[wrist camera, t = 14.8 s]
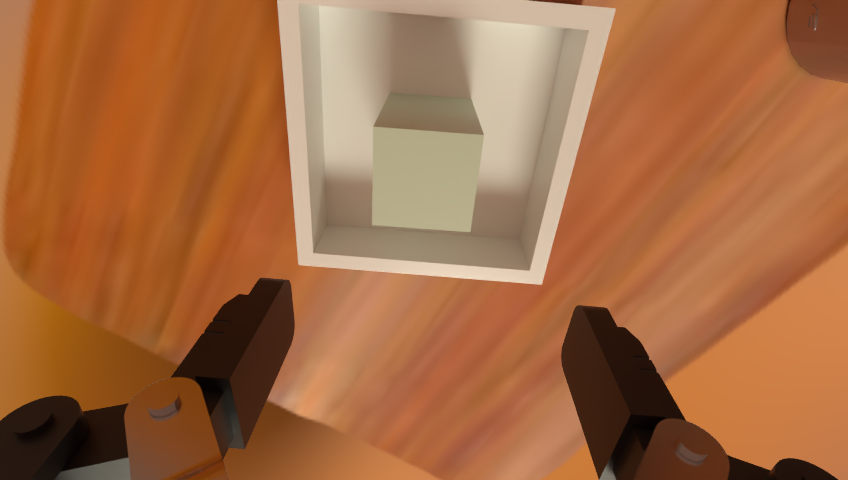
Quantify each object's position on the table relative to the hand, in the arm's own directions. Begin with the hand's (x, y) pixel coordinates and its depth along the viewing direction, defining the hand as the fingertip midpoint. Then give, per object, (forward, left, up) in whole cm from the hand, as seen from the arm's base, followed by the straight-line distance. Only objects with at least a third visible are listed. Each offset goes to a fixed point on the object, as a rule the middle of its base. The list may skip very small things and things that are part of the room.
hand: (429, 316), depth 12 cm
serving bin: (0, 0, -19) cm, 19 cm away
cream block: (0, 0, -18) cm, 18 cm away
